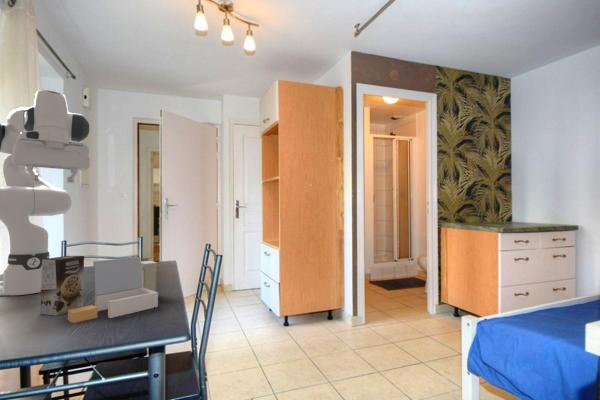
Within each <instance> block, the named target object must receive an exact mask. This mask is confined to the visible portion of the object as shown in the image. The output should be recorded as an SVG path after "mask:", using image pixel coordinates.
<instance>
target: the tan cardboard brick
mask: <svg viewBox="0 0 600 400" xmlns="http://www.w3.org/2000/svg"><path fill="white" fill-rule="evenodd" d="M98 312H99V311H98V308H97V307H95V305H93V304H90V305H87V306H86V305H85V306H83V307H80V308H75V309H71V310H68V312H67V321H68V320H69V322H70V323H72V324H75V323H80V322H84V321H89V320H93V319H97V318H98Z"/></svg>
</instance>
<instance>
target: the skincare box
mask: <svg viewBox="0 0 600 400" xmlns="http://www.w3.org/2000/svg"><path fill="white" fill-rule="evenodd" d="M140 261H141V276H142V288H145V289H149V290H152V291H155V292H157V291H156V290H157V267H158V262H156V261H154V260H144V261H143V260H140Z"/></svg>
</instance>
